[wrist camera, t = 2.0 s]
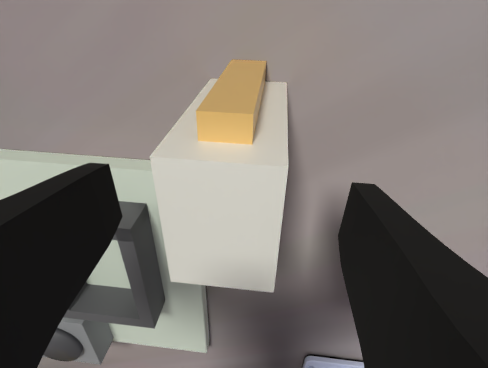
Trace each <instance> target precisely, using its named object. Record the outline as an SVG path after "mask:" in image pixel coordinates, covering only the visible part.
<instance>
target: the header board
mask: <svg viewBox="0 0 488 368" xmlns="http://www.w3.org/2000/svg"><path fill="white" fill-rule="evenodd" d="M87 163H102V164H109V166H110V170H111V174H112V177H113V181H114V185H115V189H116V193H117V197H118V201H119V204H120V208H121V212H122V216H123V217H122V219H121V221H120V224H119V226H118V228H117V231H116V233H115V235H114V237H113V239H112V241H111V243H110V245H109V247H108V248H107V250H106V251H105V253H104V255H103V256H102V258H101V259H100V261H99V262H98V264H97V266H96V267H95V269H94V270H93V272H92V273H91V275H90V276H89V278H88V279H87V281H86V282H85V284H84V285H83V287H82V289H81V290H80V292H79V293H78V295H77V296H76V298H75V299H74V301H73V302H72V304H71V305H70V307H69V309H68V310H67V312H66V314H65V315H64V317H63V319H62V320H61V322H60V324H59V326H58V327H57V329H56V331H55V333H54V335H53V337H52V339H51V341H50V343H49V345H48V347H47V349H46V351H45V353H44V354H43V356H42V357H48V358H51V359H55V360H59V361H78V362H85V363H93V364H100V365H101V363H102V361H103V359H104V357H105V355H106V353H107V351H108V349H109V347H110V344H111V342H112V341H117V342H125V343H133V344H140V345H148V346H156V347H164V348H172V349H180V350H188V351H196V352H203V353H207V350H208V345H209V341H210V339H209V326H208V313H207V299H206V286H205V285H198V284H189V283H179V282H171V280H170V274H169V268H168V262H167V256H166V250H165V244H164V239H163V233H162V227H161V221H160V215H159V209H158V203H157V197H156V192H155V186H154V180H153V174H152V168H151V162H150V160H140V159H126V158H113V157H100V156H86V155H73V154H60V153H46V152H33V151H20V150H6V149H0V200H1V199H4V198H6V197H9V196H11V195H13V194H16V193H18V192H20V191H23V190H25V189H27V188H29V187H32V186H34V185H36V184H38V183H41V182H43V181H45V180H47V179H50V178H52V177H54V176H56V175H59V174H61V173H63V172H66V171H68V170H71V169H73V168H76V167H78V166H81V165H84V164H87Z"/></svg>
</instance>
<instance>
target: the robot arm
mask: <svg viewBox="0 0 488 368" xmlns="http://www.w3.org/2000/svg"><path fill="white" fill-rule="evenodd" d="M122 217H123V216H122V212H121V208H120V204H119V201H118V197H117V193H116V189H115V185H114V181H113V177H112V174H111V170H110V166H109V164H102V163H87V164H84V165H81V166H78V167H76V168H73V169H71V170H68V171H66V172H63V173H61V174H59V175H56V176H54V177H52V178H50V179H47V180H45V181H43V182H41V183H38V184H36V185H34V186H32V187H29V188H27V189H25V190H23V191H20V192H18V193H16V194H13V195H11V196H9V197H6V198H4V199H1V200H0V368H37V367H38V365H39V362H40V360H41V358H42V356H43V354H44V353H45V351H46V349H47V347H48V345H49V343H50V341H51V339H52V337H53V335H54V333H55V331H56V329H57V327H58V326H59V324H60V322H61V320H62V319H63V317H64V315H65V314H66V312H67V310H68V309H69V307H70V305H71V304H72V302H73V301H74V299H75V298H76V296H77V295H78V293H79V292H80V290H81V289H82V287H83V285H84V284H85V282H86V281H87V279H88V278H89V276H90V275H91V273H92V272H93V270H94V269H95V267H96V266H97V264H98V262H99V261H100V259H101V258H102V256H103V255H104V253H105V251H106V250H107V248H108V247H109V245H110V243H111V241H112V239H113V237H114V235H115V233H116V231H117V228H118V226H119V224H120V221H121V219H122ZM338 240H339V251H340V259H341V267H342V272H343V276H344V280H345V284H346V289H347V293H348V297H349V301H350V305H351V309H352V313H353V317H354V321H355V325H356V329H357V334H358V338H359V342H360V347H361V352H362V357H363V362H358V361H350V360H342V359H334V358H326V357H318V356H307V357H306V358H305V360H304V364H303V368H488V277H486V276H485V275H483V274H482V273H481V272H479V271H478V270H476V269H475V268H474V267H472V266H471V265H470V264H468V263H467V262H466V261H464V260H463V259H462V258H461V257H459V256H458V255H457V254H456V253H454V252H453V251H452V250H450V249H449V248H448V247H447V246H445V245H444V244H443V243H442V242H440V241H439V240H438V239H437V238H436V237H434V236H433V235H432V234H431V233H430V232H428V231H427V230H426V229H425V228H424V227H423V226H421V225H420V224H419V223H418V222H417V221H416V220H415V219H413V218H412V217H411V216H410V215H409V214H408V213H407V212H406V211H404V210H403V209H402V208H401V207H400V206H399V205H398V204H397V203H396V202H394V201H393V200H392V199H391V198H390V197H389V196H388V195H387V194H385V193H384V192H383V191H382V190H381V189H380V188H378V187H377V186H376V185H375V184H365V183H352V184H351V188H350V192H349V196H348V200H347V204H346V208H345V211H344V215H343V219H342V223H341V227H340V231H339V234H338Z"/></svg>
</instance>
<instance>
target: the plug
mask: <svg viewBox="0 0 488 368" xmlns="http://www.w3.org/2000/svg"><path fill="white" fill-rule="evenodd" d="M265 76H266V61H252V60H231V61H230V63H229V64H228V66H227V67H226V69H225V70H224V71H223V73H222V74H221V76H220V77H219V79H210V80H209V82H208V83H207V84H206V85H205V87H204V88H203V89H202V91H201V92H200V93H199V94H198V96H197V97H196V98H195V99H194V101H193V102H192V103H191V105H190V106H189V107H188V108H187V110H186V111H185V112H184V114H183V115H182V116H181V117H180V119H179V120H178V121H177V122H176V124H175V125H174V126H173V128H172V129H171V130H170V131H169V133H168V134H167V135H166V136H165V138H164V139H163V140H162V142H161V143H160V144H159V145H158V147H157V148H156V149H155V151H154V152H153V153H152V154H151V156H150V162H151V168H152V174H153V180H154V186H155V192H156V197H157V203H158V209H159V215H160V221H161V227H162V233H163V239H164V244H165V250H166V256H167V262H168V268H169V274H170V280H171V282H179V283H189V284H198V285H207V286H216V287H226V288H235V289H244V290H253V291H263V292H272V293H274V286H275V277H276V269H277V260H278V252H279V243H280V235H281V226H282V218H283V209H284V200H285V192H286V183H287V175H288V117H287V83H286V82H266V81H265Z"/></svg>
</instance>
